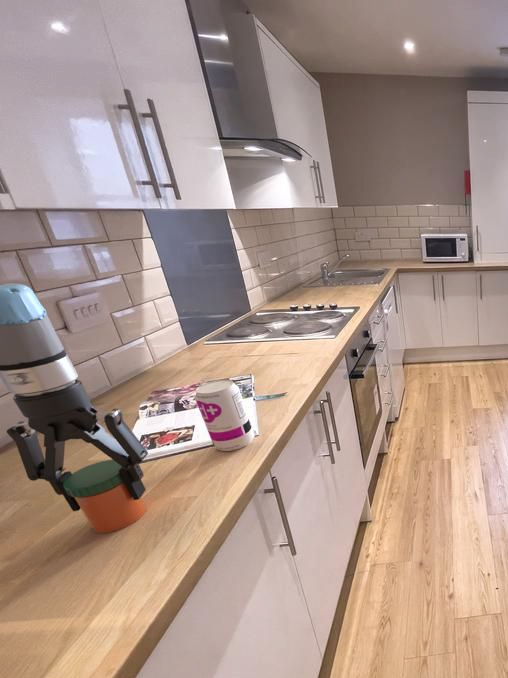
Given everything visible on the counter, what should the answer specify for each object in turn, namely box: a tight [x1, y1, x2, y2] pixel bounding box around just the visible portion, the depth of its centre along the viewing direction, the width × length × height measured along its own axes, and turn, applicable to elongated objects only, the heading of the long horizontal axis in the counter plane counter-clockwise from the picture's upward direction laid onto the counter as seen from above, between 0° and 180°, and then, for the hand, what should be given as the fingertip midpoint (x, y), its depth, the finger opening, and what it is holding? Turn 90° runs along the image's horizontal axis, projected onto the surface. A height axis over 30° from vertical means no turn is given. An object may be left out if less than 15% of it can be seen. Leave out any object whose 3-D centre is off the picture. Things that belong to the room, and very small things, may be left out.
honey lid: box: [63, 459, 124, 497], centre depth 71 cm, size 8×8×2 cm
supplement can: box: [194, 379, 255, 452], centre depth 94 cm, size 8×8×15 cm
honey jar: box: [74, 481, 147, 534], centre depth 73 cm, size 7×7×10 cm
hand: (110, 500), depth 73 cm, fingers closed on honey lid, 8 cm apart
